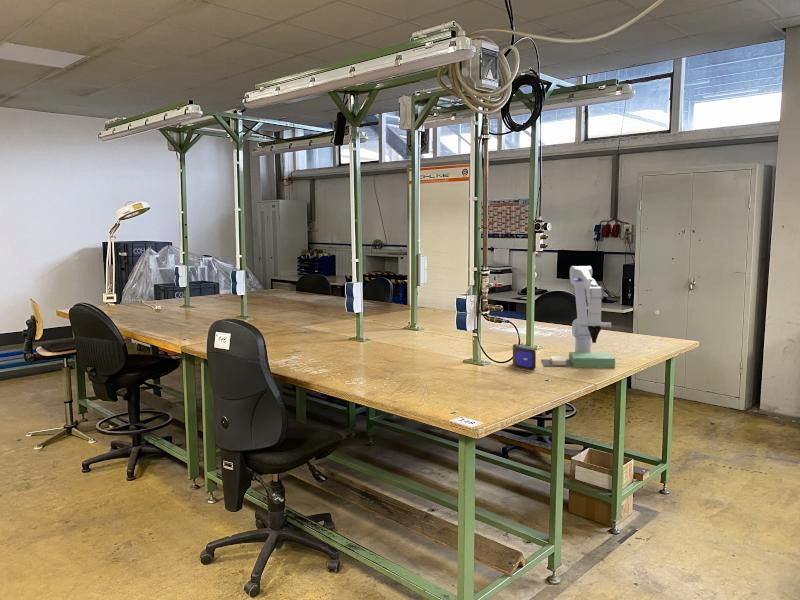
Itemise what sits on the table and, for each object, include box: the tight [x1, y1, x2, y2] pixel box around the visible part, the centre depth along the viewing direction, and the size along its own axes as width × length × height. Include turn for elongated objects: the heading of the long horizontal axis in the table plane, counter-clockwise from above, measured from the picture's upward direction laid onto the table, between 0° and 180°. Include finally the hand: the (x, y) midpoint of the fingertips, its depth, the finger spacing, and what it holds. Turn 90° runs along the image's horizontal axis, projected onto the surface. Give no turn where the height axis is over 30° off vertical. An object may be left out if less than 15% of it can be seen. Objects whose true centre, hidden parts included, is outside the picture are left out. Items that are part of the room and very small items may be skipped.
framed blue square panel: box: [512, 343, 537, 371], centre depth 277 cm, size 16×5×9 cm, turn 23°
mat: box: [540, 358, 574, 368], centre depth 283 cm, size 14×13×1 cm
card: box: [549, 356, 567, 365], centre depth 283 cm, size 9×6×2 cm, turn 173°
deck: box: [568, 351, 616, 368], centre depth 281 cm, size 14×18×4 cm
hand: (593, 342), depth 280 cm, fingers closed
